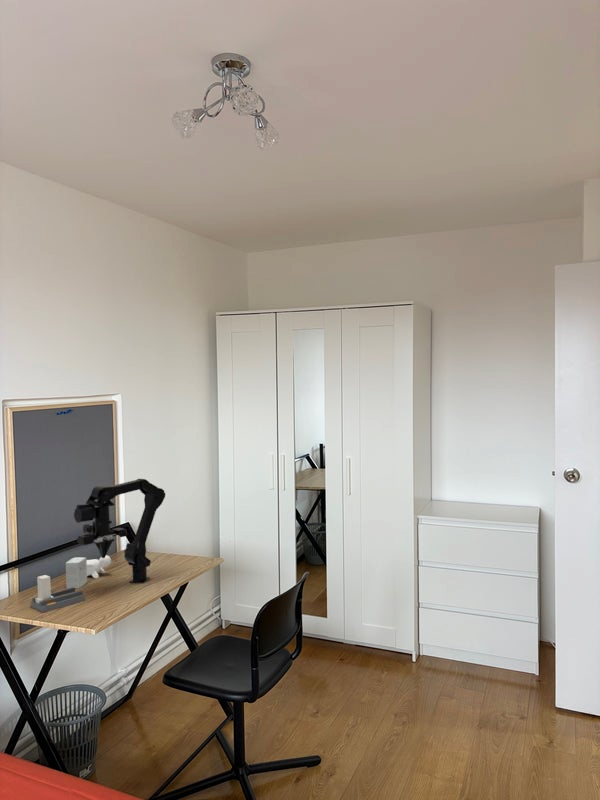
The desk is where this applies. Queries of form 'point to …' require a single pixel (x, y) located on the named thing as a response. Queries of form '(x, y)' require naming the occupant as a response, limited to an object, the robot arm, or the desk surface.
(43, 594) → the switch tab
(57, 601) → the switch base
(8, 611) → the desk surface
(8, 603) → the desk surface
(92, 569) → the white toy figurine
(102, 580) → the desk surface
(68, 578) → the small box
